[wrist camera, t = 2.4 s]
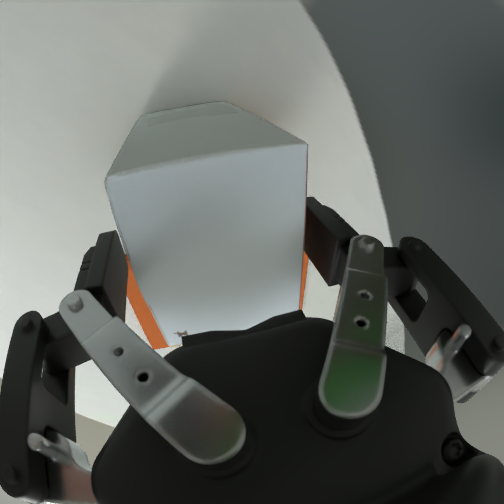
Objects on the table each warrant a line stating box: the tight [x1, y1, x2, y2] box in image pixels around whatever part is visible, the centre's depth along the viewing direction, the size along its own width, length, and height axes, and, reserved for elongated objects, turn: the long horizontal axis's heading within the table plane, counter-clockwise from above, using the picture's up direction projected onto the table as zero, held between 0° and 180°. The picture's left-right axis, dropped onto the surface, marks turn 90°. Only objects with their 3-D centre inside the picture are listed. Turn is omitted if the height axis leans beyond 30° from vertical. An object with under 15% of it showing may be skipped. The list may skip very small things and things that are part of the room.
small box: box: [104, 101, 308, 346], centre depth 15 cm, size 8×6×13 cm
